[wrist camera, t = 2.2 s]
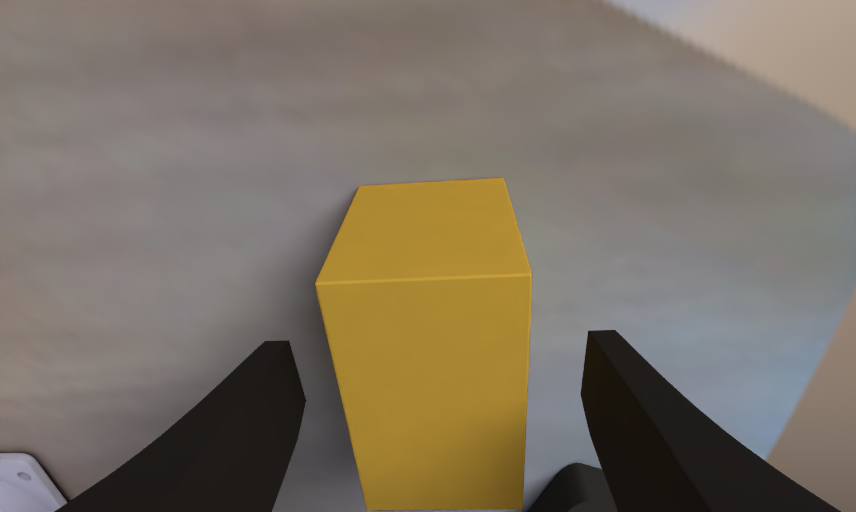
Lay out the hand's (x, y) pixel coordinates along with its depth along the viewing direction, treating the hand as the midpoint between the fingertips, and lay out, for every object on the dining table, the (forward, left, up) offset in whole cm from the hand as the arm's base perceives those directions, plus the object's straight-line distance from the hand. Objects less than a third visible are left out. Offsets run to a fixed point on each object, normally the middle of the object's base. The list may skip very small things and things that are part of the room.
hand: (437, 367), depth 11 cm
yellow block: (0, 0, -4) cm, 4 cm away
